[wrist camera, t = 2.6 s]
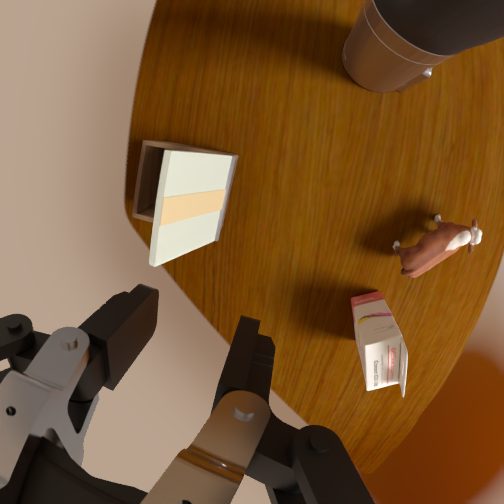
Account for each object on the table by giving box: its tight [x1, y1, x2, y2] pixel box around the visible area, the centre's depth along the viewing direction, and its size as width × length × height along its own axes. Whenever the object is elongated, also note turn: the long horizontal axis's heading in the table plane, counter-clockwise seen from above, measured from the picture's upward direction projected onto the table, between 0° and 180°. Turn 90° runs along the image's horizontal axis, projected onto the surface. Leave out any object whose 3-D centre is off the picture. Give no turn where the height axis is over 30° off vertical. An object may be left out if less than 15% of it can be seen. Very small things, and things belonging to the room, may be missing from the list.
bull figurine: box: [393, 214, 482, 278], centre depth 32 cm, size 4×13×8 cm, turn 119°
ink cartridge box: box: [351, 291, 408, 397], centre depth 34 cm, size 9×5×15 cm, turn 16°
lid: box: [149, 150, 236, 267], centre depth 28 cm, size 12×10×1 cm
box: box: [132, 140, 238, 227], centre depth 35 cm, size 11×10×6 cm
